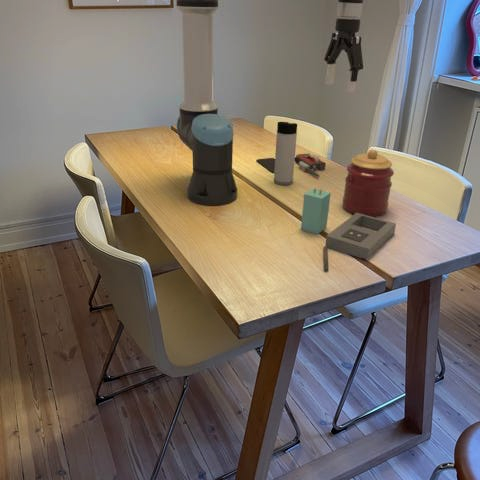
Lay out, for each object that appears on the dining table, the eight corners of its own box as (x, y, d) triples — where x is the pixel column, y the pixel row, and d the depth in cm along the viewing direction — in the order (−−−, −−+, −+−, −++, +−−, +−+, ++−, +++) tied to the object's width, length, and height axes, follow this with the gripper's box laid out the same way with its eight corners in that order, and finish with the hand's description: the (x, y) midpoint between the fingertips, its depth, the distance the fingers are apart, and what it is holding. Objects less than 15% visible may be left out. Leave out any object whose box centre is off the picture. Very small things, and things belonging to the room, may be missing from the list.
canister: (354, 219, 137) (363, 158, 128) (334, 201, 148) (341, 144, 140) (395, 215, 140) (407, 155, 132) (373, 198, 151) (382, 142, 143)
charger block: (317, 234, 128) (322, 194, 122) (300, 229, 130) (304, 189, 125) (326, 227, 131) (331, 188, 126) (309, 222, 134) (313, 184, 129)
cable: (328, 272, 111) (328, 268, 110) (323, 271, 111) (324, 267, 110) (327, 249, 120) (327, 245, 120) (323, 248, 120) (323, 245, 120)
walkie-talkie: (287, 162, 181) (315, 180, 165) (288, 150, 179) (316, 167, 163) (308, 160, 184) (337, 177, 168) (309, 148, 182) (339, 165, 166)
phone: (272, 172, 168) (255, 159, 180) (272, 175, 169) (255, 161, 181) (292, 170, 171) (273, 157, 183) (291, 172, 171) (273, 159, 183)
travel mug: (270, 183, 160) (273, 122, 151) (278, 177, 165) (282, 118, 156) (287, 187, 157) (292, 125, 148) (295, 180, 163) (300, 120, 153)
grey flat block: (367, 260, 116) (369, 247, 114) (325, 246, 121) (326, 234, 120) (394, 233, 129) (396, 221, 127) (355, 222, 135) (356, 211, 133)
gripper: (382, 21, 145) (370, 94, 154) (338, 15, 165) (330, 81, 175) (360, 20, 142) (349, 95, 152) (318, 15, 163) (312, 81, 173)
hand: (339, 87), depth 163 cm, fingers open, 13 cm apart
